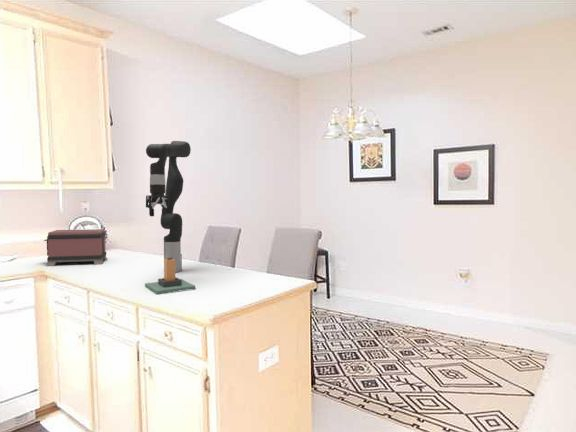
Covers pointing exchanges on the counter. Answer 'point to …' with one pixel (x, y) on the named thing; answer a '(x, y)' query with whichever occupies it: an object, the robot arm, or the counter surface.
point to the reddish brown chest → (76, 246)
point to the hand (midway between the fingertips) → (158, 215)
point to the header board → (168, 286)
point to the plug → (169, 269)
